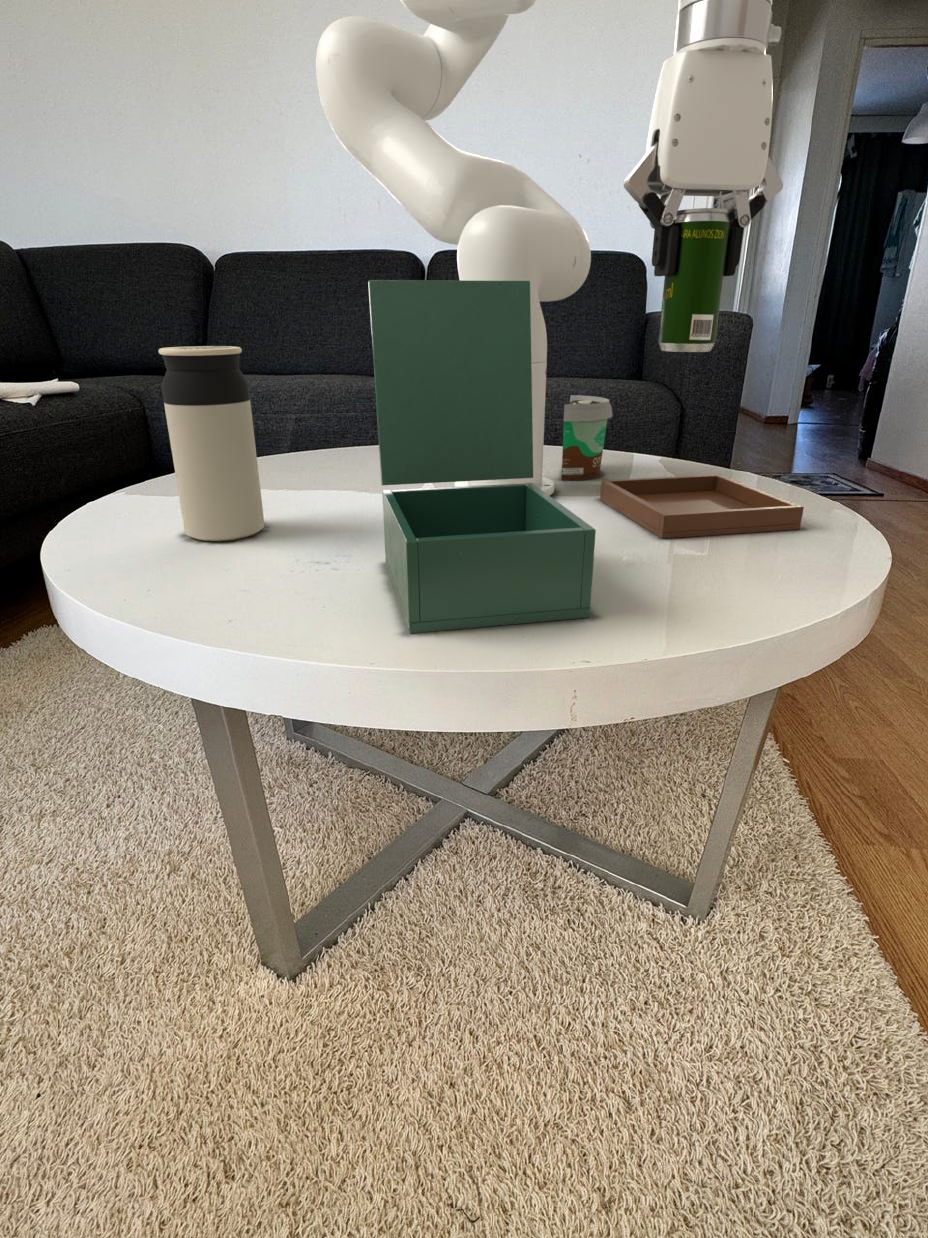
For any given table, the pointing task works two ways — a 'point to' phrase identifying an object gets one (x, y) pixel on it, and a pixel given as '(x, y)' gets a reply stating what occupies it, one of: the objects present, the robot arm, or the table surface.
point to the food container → (584, 436)
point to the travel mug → (212, 442)
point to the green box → (486, 556)
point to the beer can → (695, 281)
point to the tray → (699, 506)
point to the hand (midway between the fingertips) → (693, 273)
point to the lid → (452, 380)
